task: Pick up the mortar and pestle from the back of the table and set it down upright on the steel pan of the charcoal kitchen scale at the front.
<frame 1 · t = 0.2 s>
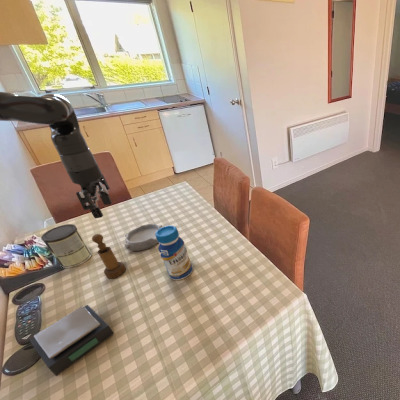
hand: (104, 210, 88), 28 cm above the table, tool pointing down, fingers open, 8 cm apart
coffee can: (76, 259, 109), on the table
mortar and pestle: (116, 272, 102), on the table
dish: (145, 242, 118), on the table
beverage bottle: (181, 273, 102), on the table
scale: (76, 340, 78), on the table
scale pan: (67, 330, 76), point 5 cm above the table, slide at -0.4 cm, touching scale
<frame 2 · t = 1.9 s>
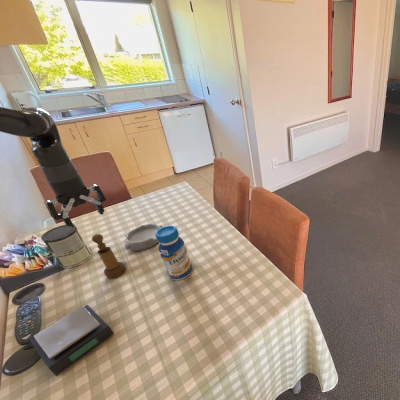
hand: (87, 219, 90), 25 cm above the table, tool pointing down, fingers open, 8 cm apart
nothing on the table moved.
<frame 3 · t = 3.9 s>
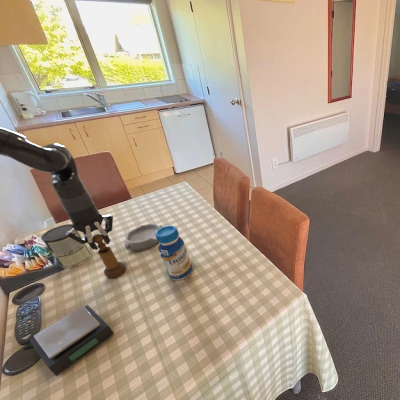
hand: (101, 245, 96), 13 cm above the table, tool pointing down, fingers closed on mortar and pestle, 3 cm apart
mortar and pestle: (116, 272, 102), on the table, touching gripper
everything else where it was.
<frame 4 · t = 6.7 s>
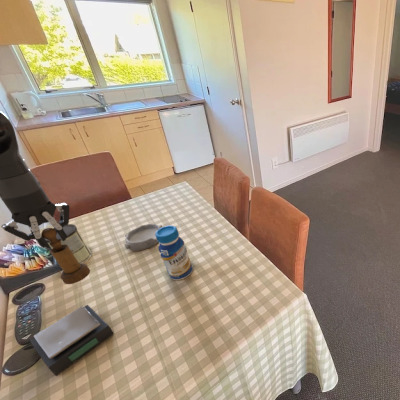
hand: (55, 243, 75), 27 cm above the table, tool pointing down, fingers closed on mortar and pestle, 3 cm apart
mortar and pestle: (77, 276, 82), point 14 cm above the table, touching gripper
everything else where it was.
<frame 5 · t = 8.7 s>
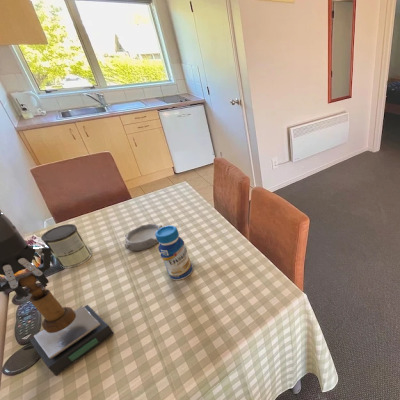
hand: (35, 289, 67), 22 cm above the table, tool pointing down, fingers closed on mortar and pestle, 3 cm apart
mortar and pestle: (61, 322, 74), point 9 cm above the table, touching gripper
everything else where it was.
when the fingers open (19 cm above the table, at t = 9.9 s): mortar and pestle stays where it is, resting on scale pan.
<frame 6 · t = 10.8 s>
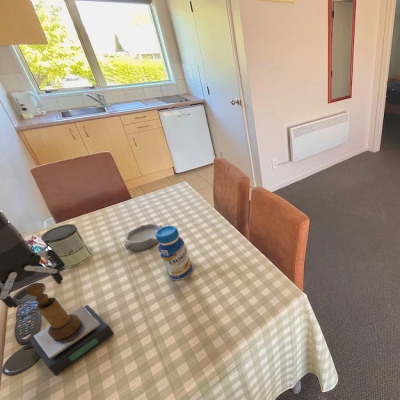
hand: (38, 293, 68), 21 cm above the table, tool pointing down, fingers open, 8 cm apart
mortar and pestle: (67, 329, 76), point 5 cm above the table, touching scale pan
scale pan: (67, 330, 76), point 5 cm above the table, slide at -0.4 cm, touching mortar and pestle, scale
everything else where it was.
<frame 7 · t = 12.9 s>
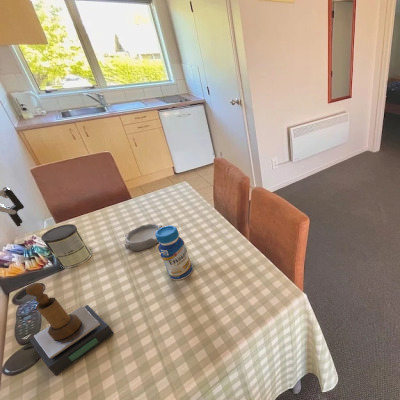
nothing on the table moved.
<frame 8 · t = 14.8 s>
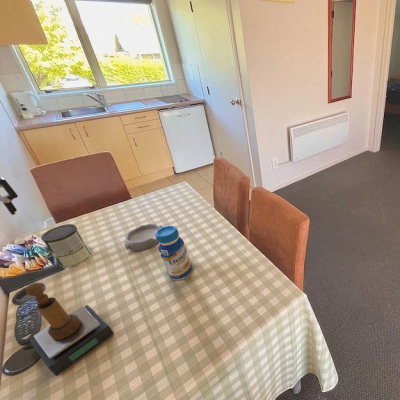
nothing on the table moved.
at the end: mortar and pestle inside the target area on the scale (0.1 cm from its centre), point 5.4 cm above the scale's base; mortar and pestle tilted 0°; the gripper is holding nothing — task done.
